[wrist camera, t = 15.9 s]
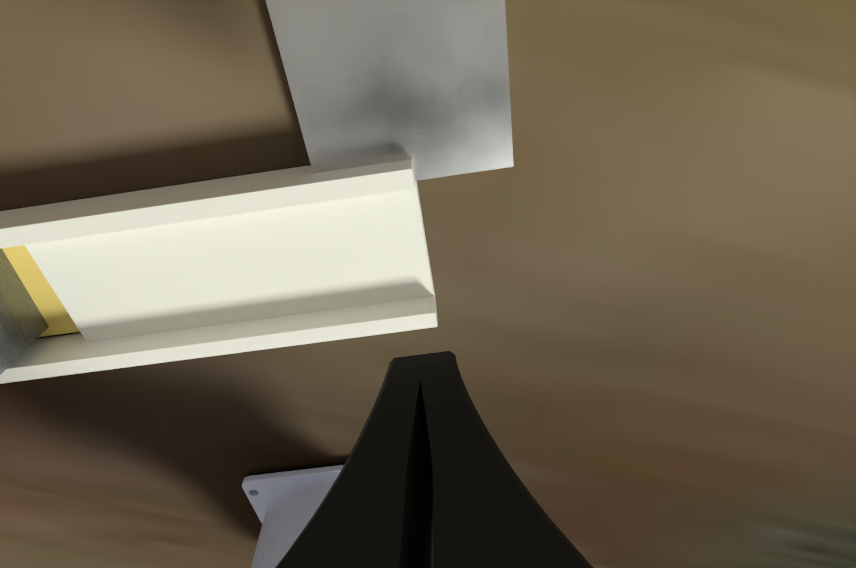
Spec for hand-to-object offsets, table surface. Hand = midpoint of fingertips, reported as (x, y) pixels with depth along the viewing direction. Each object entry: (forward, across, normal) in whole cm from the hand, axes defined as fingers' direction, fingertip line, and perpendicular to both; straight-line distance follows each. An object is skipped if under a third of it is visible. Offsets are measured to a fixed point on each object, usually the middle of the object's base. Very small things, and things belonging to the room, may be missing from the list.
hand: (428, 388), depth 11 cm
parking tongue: (+10, 0, -5) cm, 11 cm away
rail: (+10, +12, +1) cm, 16 cm away
